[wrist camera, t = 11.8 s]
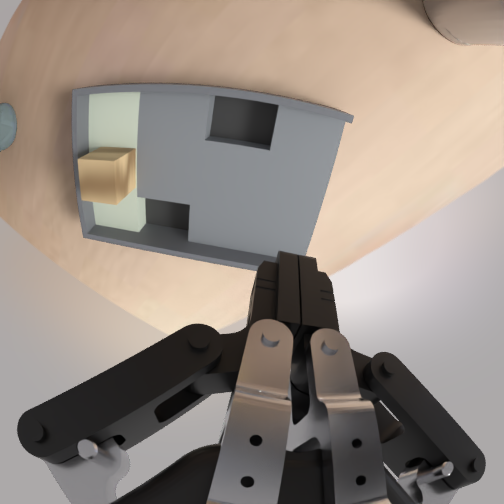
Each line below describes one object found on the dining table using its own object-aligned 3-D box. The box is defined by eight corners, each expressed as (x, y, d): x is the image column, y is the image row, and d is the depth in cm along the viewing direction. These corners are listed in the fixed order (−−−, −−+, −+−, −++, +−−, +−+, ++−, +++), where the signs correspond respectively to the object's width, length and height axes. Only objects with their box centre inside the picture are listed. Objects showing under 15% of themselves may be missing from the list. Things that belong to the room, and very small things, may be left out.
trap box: (98, 85, 26) (72, 89, 21) (340, 110, 27) (353, 115, 22) (102, 218, 37) (83, 237, 32) (300, 253, 38) (302, 279, 33)
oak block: (101, 146, 28) (77, 159, 24) (135, 148, 28) (114, 161, 24) (102, 183, 30) (81, 200, 26) (135, 187, 31) (116, 205, 27)
